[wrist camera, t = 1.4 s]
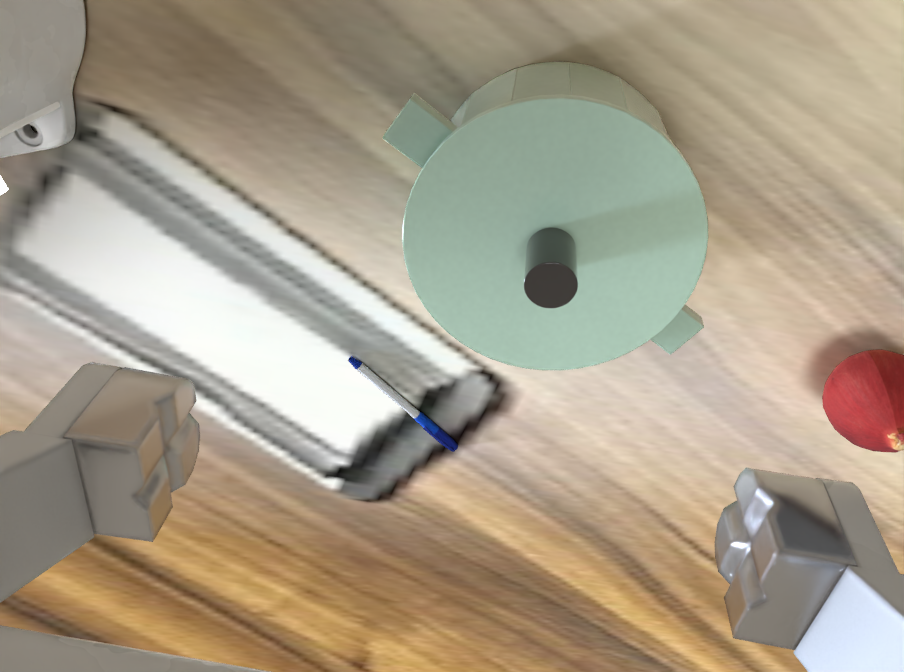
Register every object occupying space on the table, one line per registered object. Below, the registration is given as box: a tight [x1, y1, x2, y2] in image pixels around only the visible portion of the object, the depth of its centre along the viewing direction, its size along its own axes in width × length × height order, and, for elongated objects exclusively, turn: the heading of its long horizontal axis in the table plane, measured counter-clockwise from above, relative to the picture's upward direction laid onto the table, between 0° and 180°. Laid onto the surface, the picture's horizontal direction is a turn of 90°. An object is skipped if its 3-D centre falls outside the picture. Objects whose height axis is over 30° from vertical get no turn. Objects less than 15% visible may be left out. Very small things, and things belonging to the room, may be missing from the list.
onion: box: [822, 350, 904, 452], centre depth 44 cm, size 6×6×8 cm
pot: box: [383, 62, 704, 354], centre depth 40 cm, size 14×19×8 cm
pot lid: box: [402, 94, 708, 370], centre depth 36 cm, size 15×15×5 cm
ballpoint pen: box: [348, 356, 458, 452], centre depth 53 cm, size 10×1×1 cm, turn 46°
